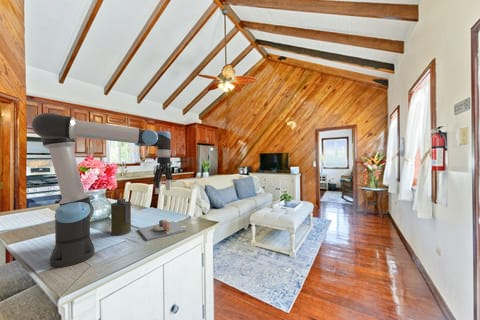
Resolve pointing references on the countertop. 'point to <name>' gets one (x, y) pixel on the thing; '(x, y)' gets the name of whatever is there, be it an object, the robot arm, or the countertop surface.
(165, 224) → the dial
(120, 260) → the countertop surface
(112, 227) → the canister
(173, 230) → the panel
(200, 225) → the countertop surface
